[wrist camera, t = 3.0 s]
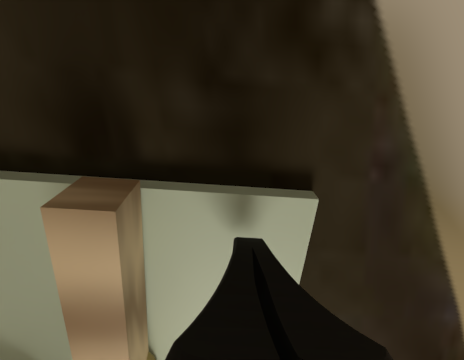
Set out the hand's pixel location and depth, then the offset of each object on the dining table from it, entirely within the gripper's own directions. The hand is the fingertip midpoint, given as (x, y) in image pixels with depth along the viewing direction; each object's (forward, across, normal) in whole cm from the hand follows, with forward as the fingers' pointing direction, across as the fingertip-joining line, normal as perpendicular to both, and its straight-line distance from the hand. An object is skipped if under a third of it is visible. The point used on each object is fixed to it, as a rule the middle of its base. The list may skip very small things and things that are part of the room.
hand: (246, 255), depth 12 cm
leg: (+1, +7, +4) cm, 8 cm away
